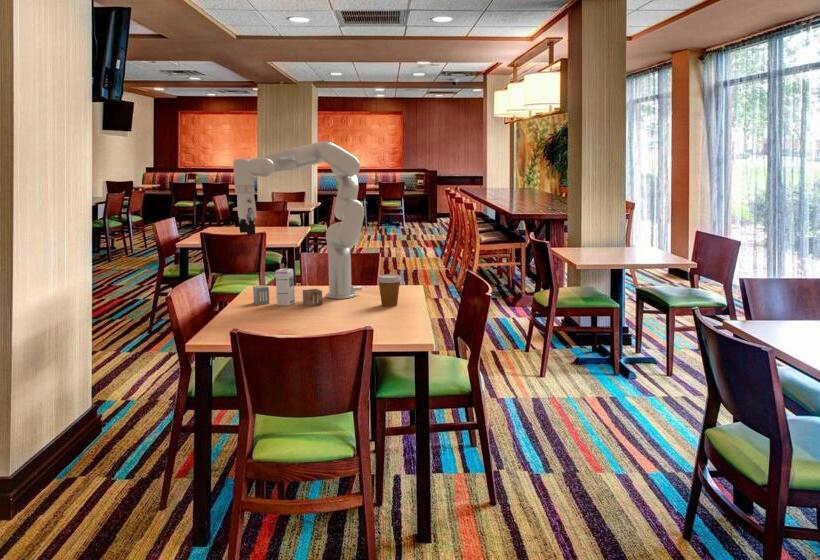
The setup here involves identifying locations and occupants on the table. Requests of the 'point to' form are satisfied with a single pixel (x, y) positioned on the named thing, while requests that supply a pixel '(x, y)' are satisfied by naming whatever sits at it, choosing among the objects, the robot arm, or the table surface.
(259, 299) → the slate block
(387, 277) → the disposable coffee cup
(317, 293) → the walnut cube
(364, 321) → the table surface
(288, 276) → the syrup box
